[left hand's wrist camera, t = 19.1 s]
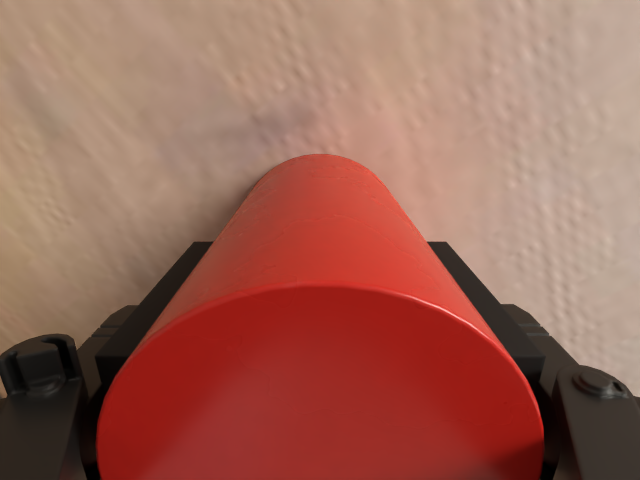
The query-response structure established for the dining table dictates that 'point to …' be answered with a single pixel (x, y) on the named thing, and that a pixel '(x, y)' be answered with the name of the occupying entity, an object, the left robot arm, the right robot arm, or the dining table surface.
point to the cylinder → (320, 353)
